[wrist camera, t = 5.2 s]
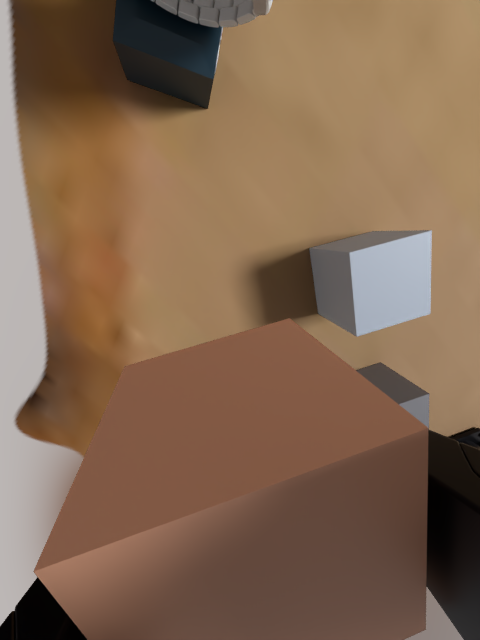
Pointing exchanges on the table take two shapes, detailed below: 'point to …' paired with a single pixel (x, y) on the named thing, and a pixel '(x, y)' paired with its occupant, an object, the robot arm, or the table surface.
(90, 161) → the table surface
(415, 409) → the charcoal cube
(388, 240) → the slate cube
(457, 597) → the robot arm
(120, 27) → the watch
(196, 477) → the terracotta cube
